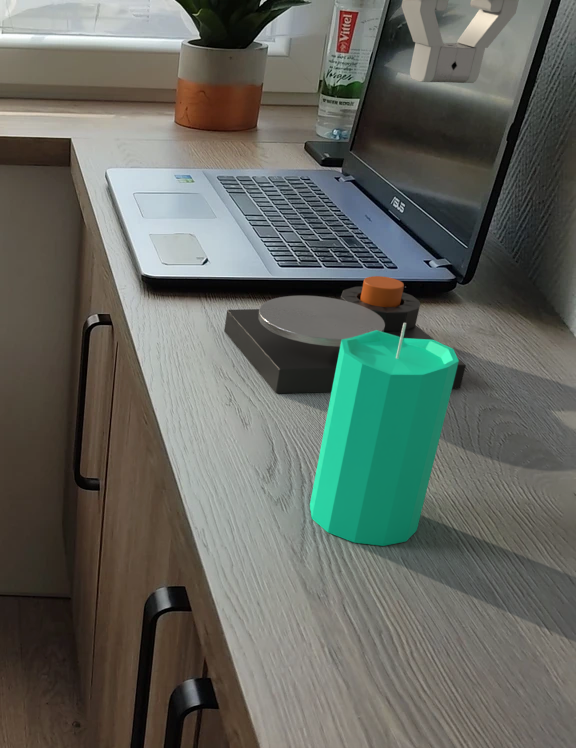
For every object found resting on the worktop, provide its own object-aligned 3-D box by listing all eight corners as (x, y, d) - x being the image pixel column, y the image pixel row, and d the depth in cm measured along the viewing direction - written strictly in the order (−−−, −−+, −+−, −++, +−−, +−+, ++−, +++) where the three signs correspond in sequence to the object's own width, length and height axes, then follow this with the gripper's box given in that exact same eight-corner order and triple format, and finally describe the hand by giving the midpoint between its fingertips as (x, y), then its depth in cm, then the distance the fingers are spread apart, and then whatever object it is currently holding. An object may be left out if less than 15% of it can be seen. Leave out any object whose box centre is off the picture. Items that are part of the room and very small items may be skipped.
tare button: (389, 296, 88) (393, 275, 87) (406, 309, 85) (411, 288, 85) (353, 297, 88) (357, 276, 87) (369, 310, 85) (374, 289, 84)
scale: (390, 325, 91) (399, 285, 89) (466, 388, 80) (477, 343, 78) (222, 329, 89) (227, 288, 88) (275, 393, 78) (283, 348, 77)
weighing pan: (352, 301, 86) (354, 294, 85) (405, 345, 78) (407, 337, 77) (241, 303, 85) (242, 296, 84) (283, 348, 77) (284, 340, 77)
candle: (439, 526, 63) (489, 330, 57) (371, 557, 60) (418, 353, 54) (353, 482, 67) (393, 296, 62) (287, 509, 64) (322, 316, 58)
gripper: (673, -215, 55) (592, 74, 61) (278, -234, 53) (236, 67, 59) (766, -225, 49) (666, 95, 56) (328, -247, 47) (276, 88, 53)
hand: (442, 81), depth 57 cm, fingers closed
